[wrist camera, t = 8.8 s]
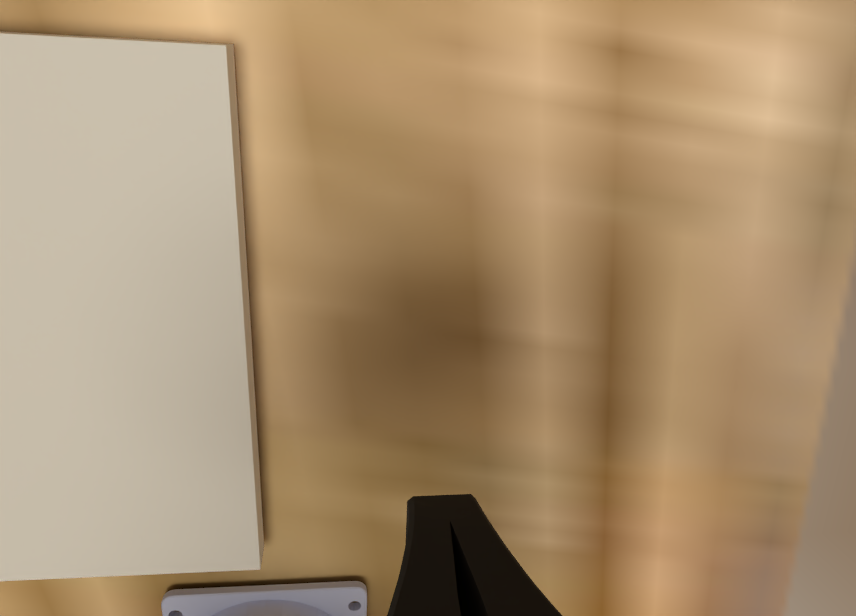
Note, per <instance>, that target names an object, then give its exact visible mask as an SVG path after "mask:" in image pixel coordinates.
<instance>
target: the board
mask: <svg viewBox="0 0 856 616" xmlns="http://www.w3.org/2000/svg"><path fill="white" fill-rule="evenodd" d="M263 550H264V534H263V518H262V501H261V485H260V469H259V452H258V436H257V420H256V403H255V387H254V371H253V354H252V338H251V321H250V305H249V289H248V272H247V256H246V240H245V223H244V207H243V191H242V174H241V158H240V142H239V125H238V109H237V93H236V76H235V60H234V44H222V43H204V42H186V41H167V40H149V39H130V38H112V37H93V36H75V35H56V34H38V33H19V32H1V31H0V581H14V580H37V579H59V578H82V577H104V576H127V575H149V574H172V573H194V572H217V571H239V570H260V569H261V562H262V556H263Z"/></svg>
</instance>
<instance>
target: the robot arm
mask: <svg viewBox="0 0 856 616" xmlns="http://www.w3.org/2000/svg"><path fill="white" fill-rule="evenodd" d="M353 601H357V602H356V603H352V602H353ZM161 608H162V615H163V616H367V588H366V585H365V584H364V583H362V582H360V581H341V582H320V583H299V584H278V585H257V586H236V587H214V588H193V589H175V590H170V591H168V592H166V593H165V595H164V596H163V599H162V603H161ZM174 610H176V611H180V612H176V611H174ZM387 616H562V615H561V614H560V613H559V612H558V610H557V609H556V608H555V607H554V606H553V605H552V604H551V603H550V601H549V600H548V599H547V598H546V597H545V596H544V594H543V593H542V592H541V591H540V590H539V588H538V587H537V586H536V585H535V584H534V582H533V581H532V580H531V579H530V577H529V576H528V575H527V574H526V572H525V571H524V570H523V568H522V567H521V566H520V564H519V563H518V562H517V560H516V559H515V558H514V556H513V555H512V554H511V552H510V551H509V550H508V548H507V547H506V545H505V544H504V543H503V541H502V540H501V538H500V537H499V535H498V534H497V532H496V531H495V529H494V528H493V526H492V525H491V523H490V522H489V520H488V519H487V517H486V515H485V514H484V512H483V511H482V509H481V507H480V506H479V504H478V502H477V500H476V499H475V498H474V497H473V496H472V495H471V494H462V495H438V496H413V497H412V498H411V499H409V500H408V501H407V524H406V547H405V551H404V556H403V561H402V565H401V570H400V574H399V578H398V582H397V585H396V588H395V592H394V595H393V598H392V602H391V605H390V609H389V612H388V615H387Z"/></svg>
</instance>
